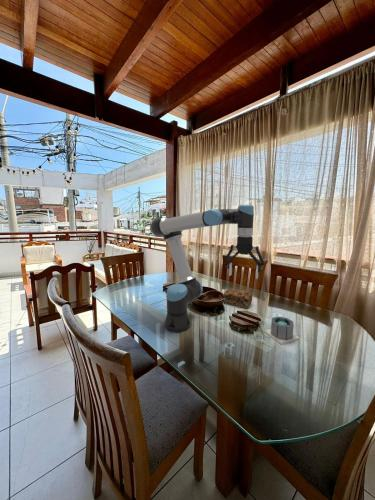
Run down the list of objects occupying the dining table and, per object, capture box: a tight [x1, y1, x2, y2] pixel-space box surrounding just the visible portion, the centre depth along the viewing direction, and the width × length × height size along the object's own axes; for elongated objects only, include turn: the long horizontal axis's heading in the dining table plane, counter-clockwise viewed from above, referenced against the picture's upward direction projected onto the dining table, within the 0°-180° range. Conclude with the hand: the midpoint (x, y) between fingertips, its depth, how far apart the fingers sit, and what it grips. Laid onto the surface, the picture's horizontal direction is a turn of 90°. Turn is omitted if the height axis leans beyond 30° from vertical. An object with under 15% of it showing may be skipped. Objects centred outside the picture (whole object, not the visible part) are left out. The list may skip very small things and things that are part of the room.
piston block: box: [264, 321, 300, 345], centre depth 114 cm, size 12×12×7 cm
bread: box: [222, 288, 253, 309], centre depth 153 cm, size 19×11×10 cm, turn 56°
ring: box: [270, 316, 295, 340], centre depth 114 cm, size 10×10×7 cm
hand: (243, 276), depth 112 cm, fingers open, 13 cm apart
